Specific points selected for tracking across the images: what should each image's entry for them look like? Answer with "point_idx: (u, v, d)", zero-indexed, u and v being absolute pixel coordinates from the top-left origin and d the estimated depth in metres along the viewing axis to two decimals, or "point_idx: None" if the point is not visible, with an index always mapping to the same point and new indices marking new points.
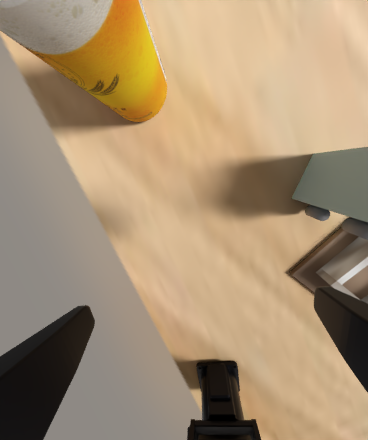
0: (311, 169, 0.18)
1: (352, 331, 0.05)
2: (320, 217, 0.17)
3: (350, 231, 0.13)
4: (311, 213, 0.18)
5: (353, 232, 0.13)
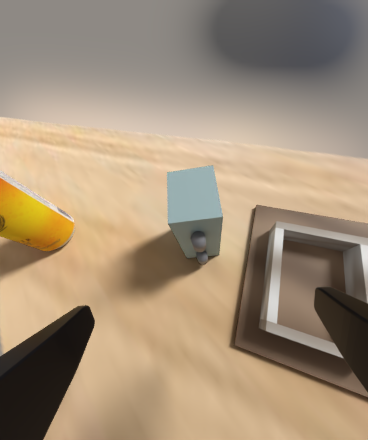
0: None
1: (352, 331, 0.05)
2: (200, 257, 0.18)
3: (195, 248, 0.15)
4: (197, 259, 0.19)
5: (194, 247, 0.14)
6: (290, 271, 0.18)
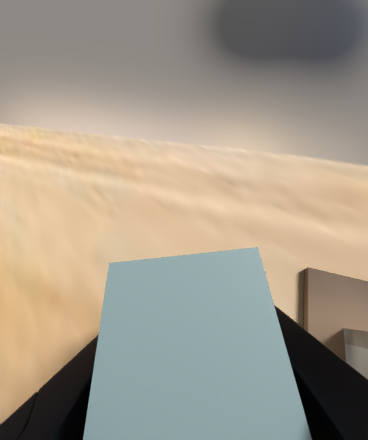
0: None
1: None
2: None
3: None
4: None
5: None
6: None
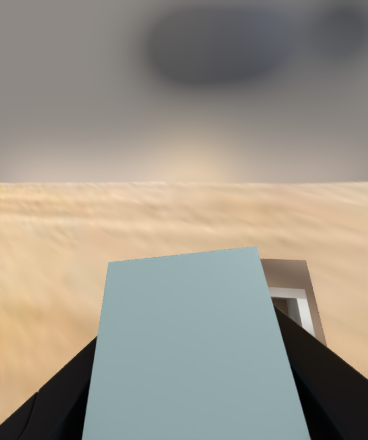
0: None
1: None
2: None
3: None
4: None
5: None
6: None
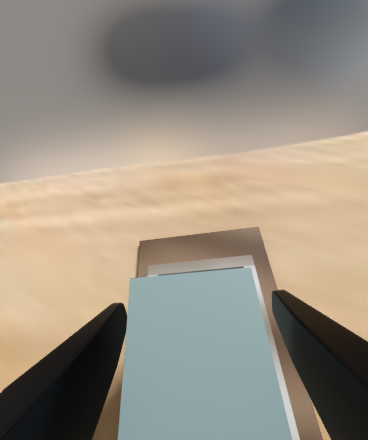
0: None
1: (295, 334, 0.05)
2: None
3: None
4: None
5: None
6: None
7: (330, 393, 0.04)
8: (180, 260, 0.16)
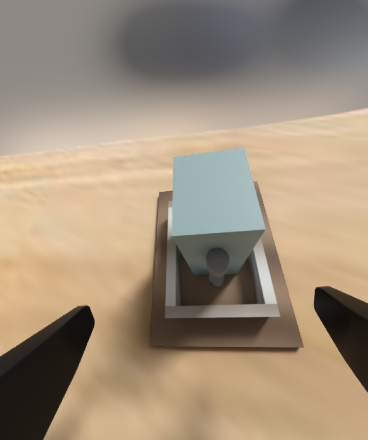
0: None
1: (352, 331, 0.05)
2: (214, 280, 0.13)
3: (211, 272, 0.10)
4: (209, 280, 0.14)
5: (211, 271, 0.09)
6: None
7: None
8: None
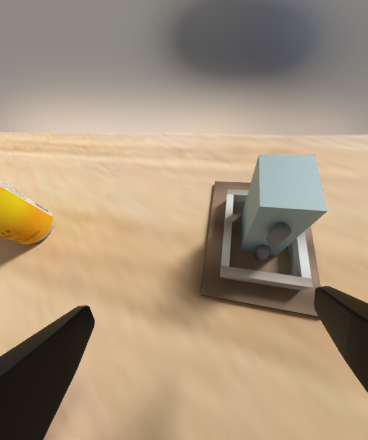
0: (242, 222, 0.21)
1: (352, 331, 0.05)
2: (263, 253, 0.17)
3: (272, 240, 0.14)
4: (257, 254, 0.18)
5: (273, 238, 0.13)
6: None
7: None
8: None
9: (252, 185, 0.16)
